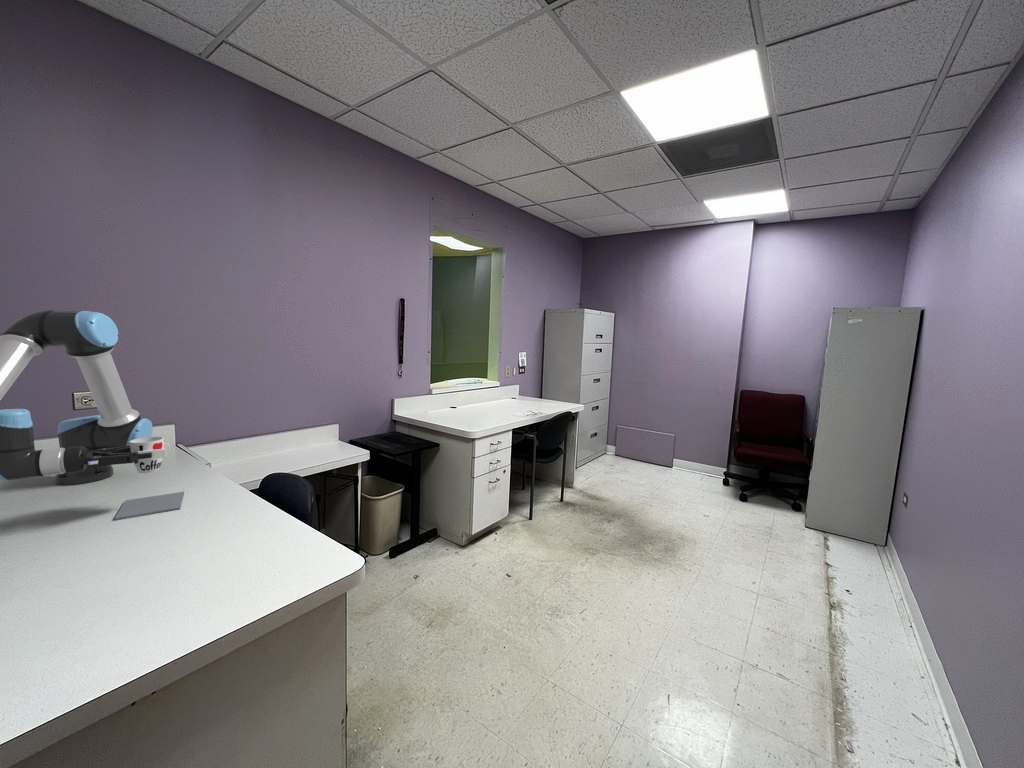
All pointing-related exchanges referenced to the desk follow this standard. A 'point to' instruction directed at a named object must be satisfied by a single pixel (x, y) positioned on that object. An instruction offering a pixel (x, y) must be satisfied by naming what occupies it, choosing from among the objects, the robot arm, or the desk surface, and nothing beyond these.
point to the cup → (145, 445)
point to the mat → (150, 505)
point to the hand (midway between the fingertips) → (167, 449)
